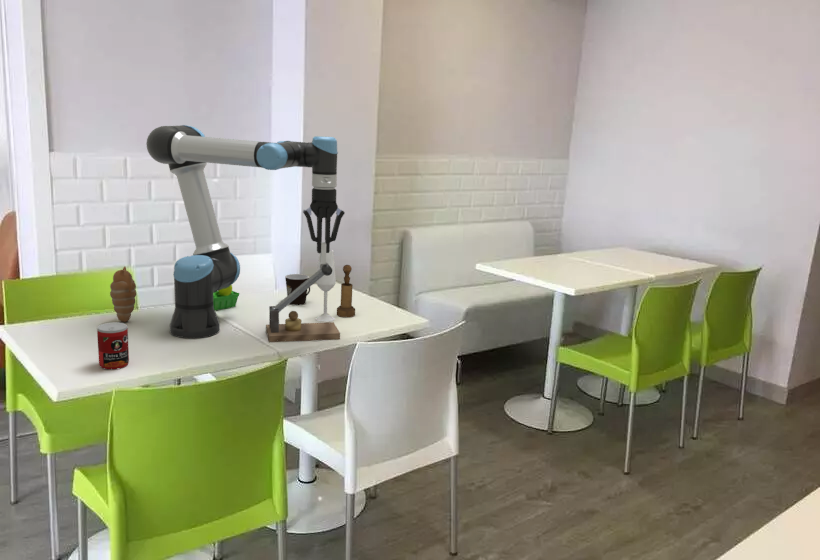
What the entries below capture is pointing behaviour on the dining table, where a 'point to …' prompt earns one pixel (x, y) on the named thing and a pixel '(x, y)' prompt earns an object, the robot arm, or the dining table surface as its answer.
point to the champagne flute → (326, 285)
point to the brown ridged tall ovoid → (123, 294)
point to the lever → (303, 287)
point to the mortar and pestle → (346, 296)
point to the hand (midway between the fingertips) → (322, 263)
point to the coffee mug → (293, 283)
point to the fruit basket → (225, 298)
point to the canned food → (113, 345)
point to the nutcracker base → (305, 333)
